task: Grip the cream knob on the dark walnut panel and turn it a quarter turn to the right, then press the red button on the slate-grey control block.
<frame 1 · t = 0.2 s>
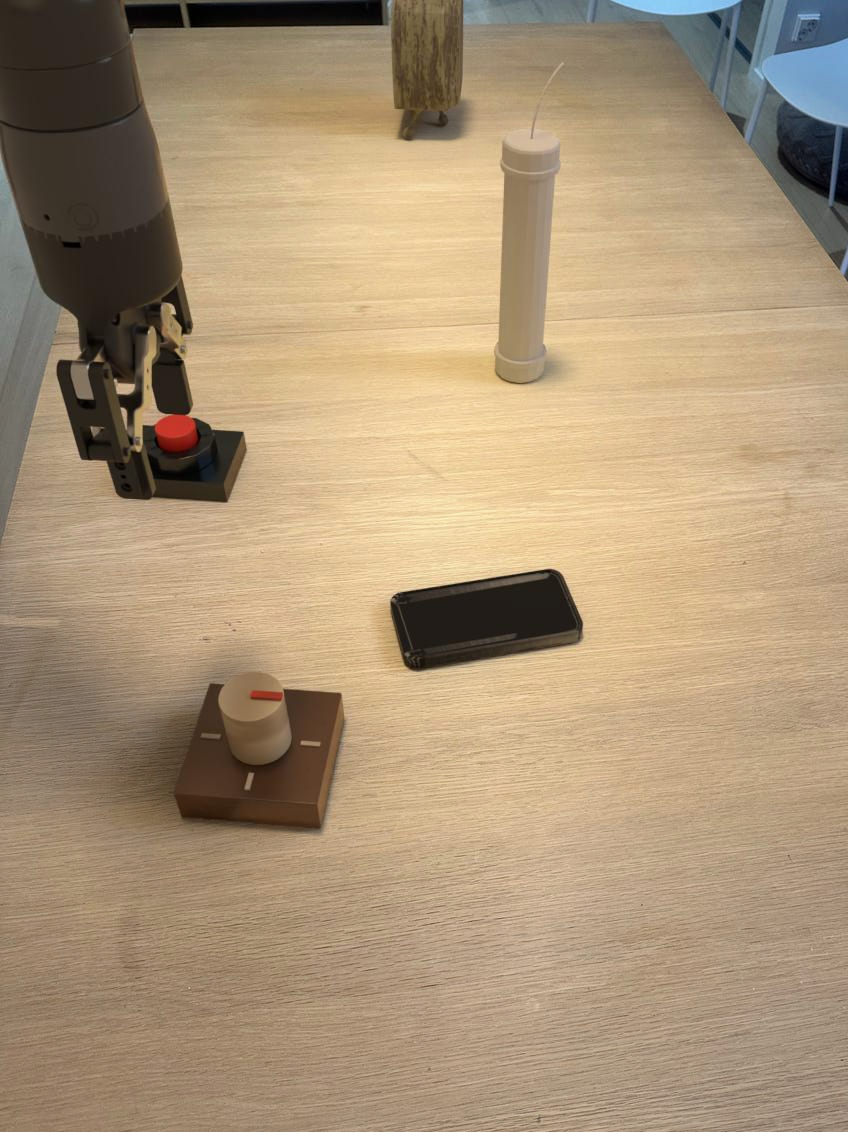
hand: (157, 452, 66), 23 cm above the table, tool pointing down, fingers open, 8 cm apart
dial: (255, 717, 74), point 6 cm above the table, hinge at 0.0°
button: (176, 433, 97), point 4 cm above the table, slide at 0.1 cm
phone: (485, 623, 88), on the table
panel: (266, 765, 78), on the table
dynamite stick: (521, 370, 114), on the table
tabletop clock: (430, 126, 157), on the table
button block: (185, 472, 101), on the table
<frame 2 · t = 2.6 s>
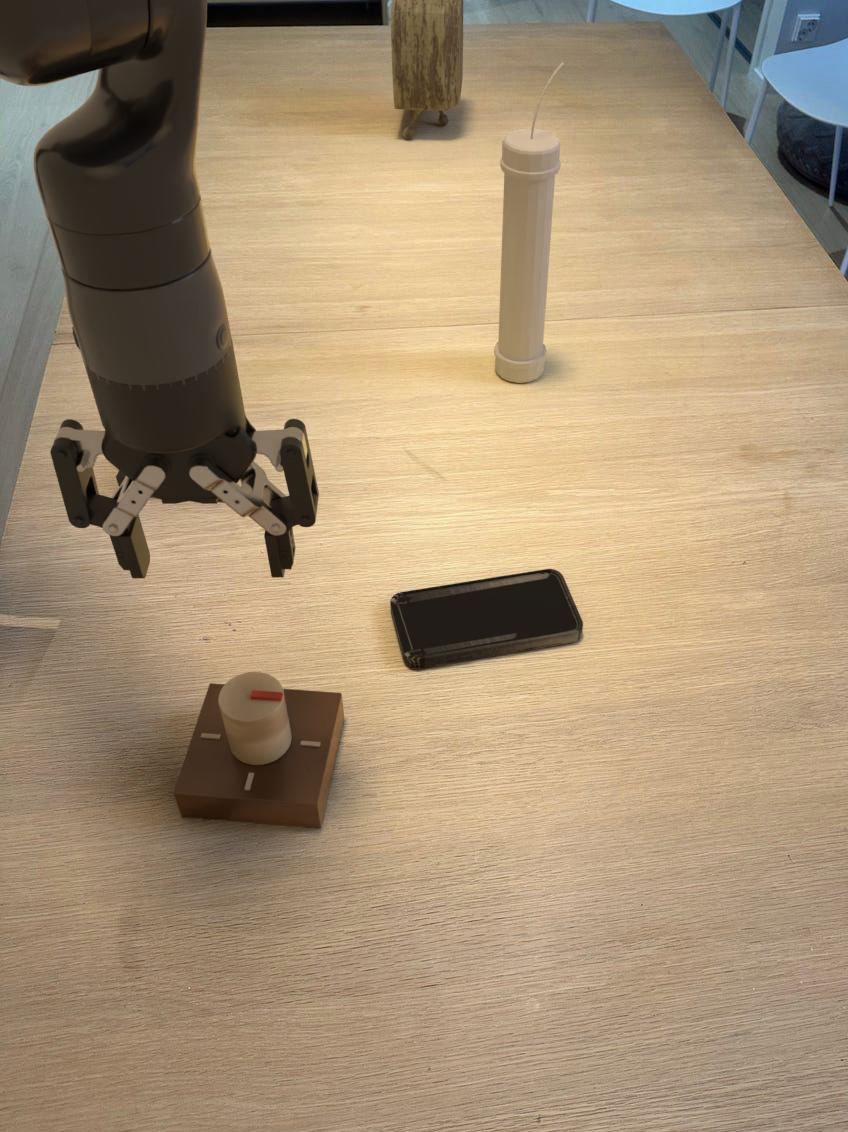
hand: (210, 569, 66), 18 cm above the table, tool pointing down, fingers open, 8 cm apart
nothing on the table moved.
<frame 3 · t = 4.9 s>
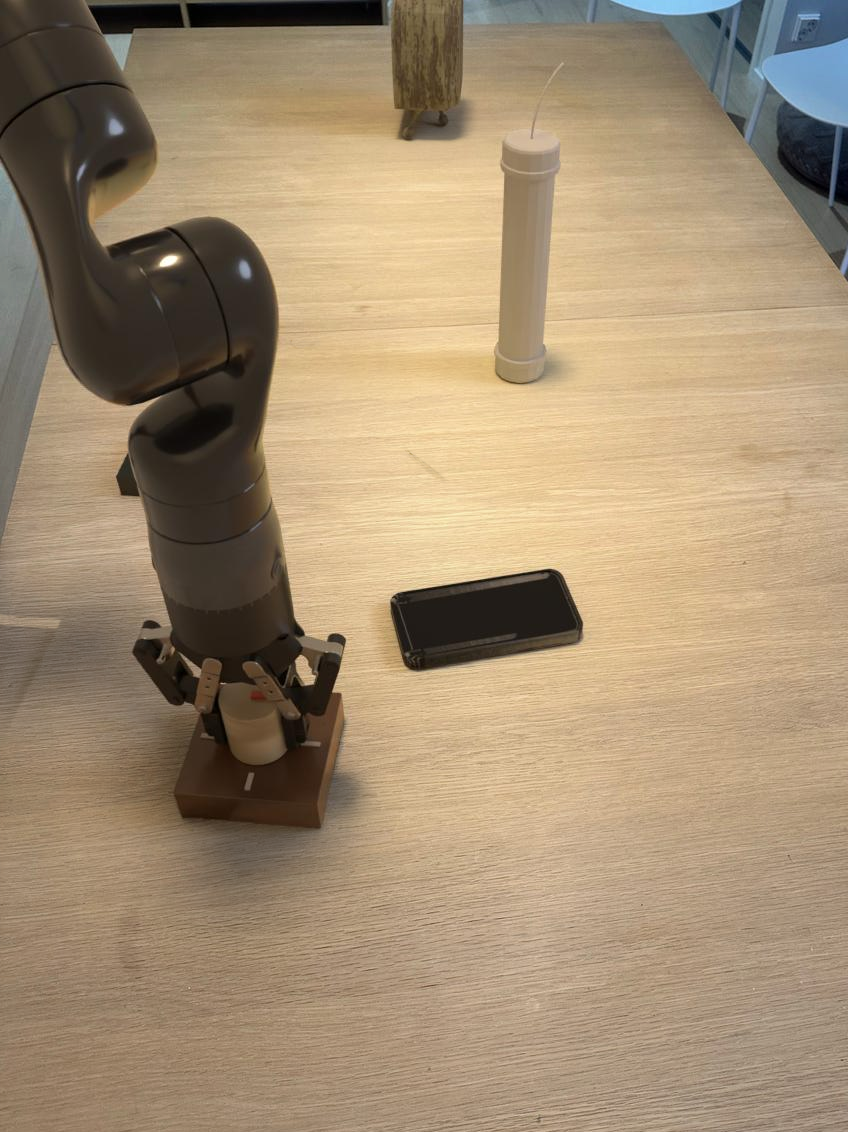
hand: (259, 736, 75), 4 cm above the table, tool pointing down, fingers closed on dial, 4 cm apart
dial: (255, 717, 74), point 6 cm above the table, hinge at 0.0°, touching gripper
everything else where it was.
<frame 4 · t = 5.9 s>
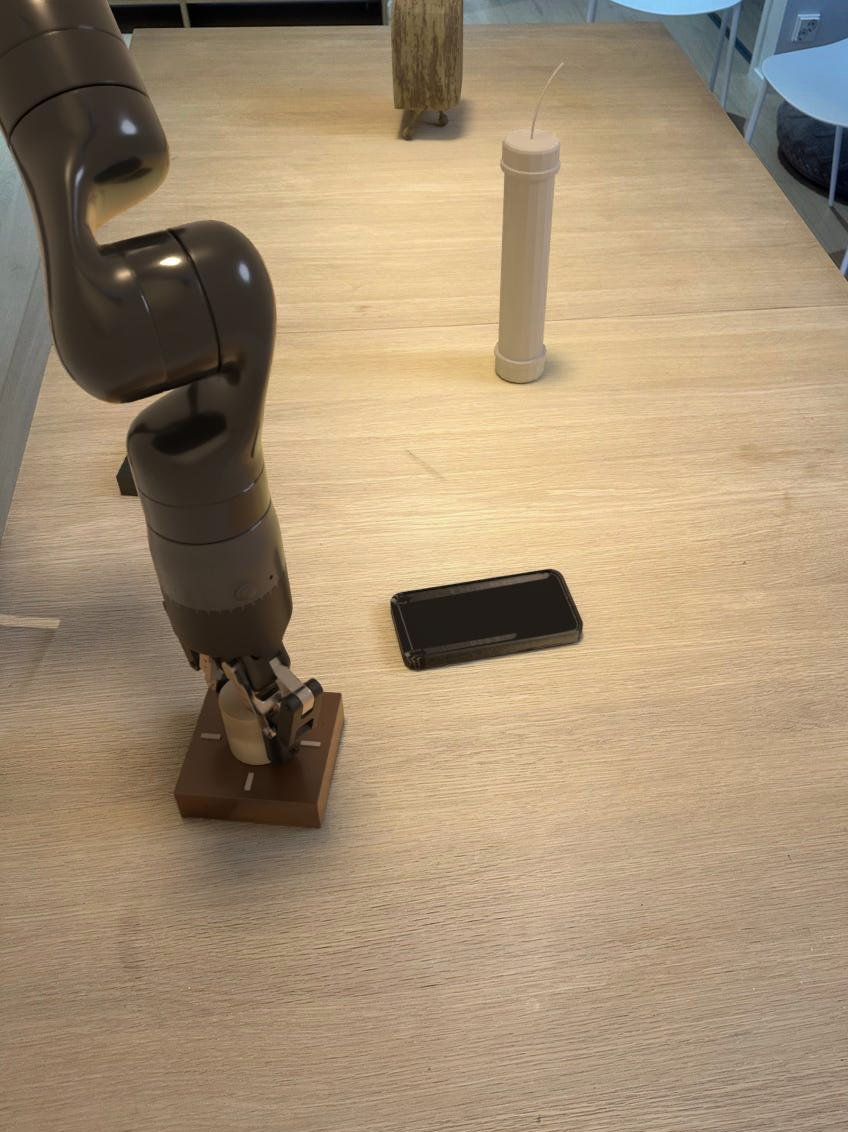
hand: (260, 735, 75), 4 cm above the table, tool pointing down, fingers closed on dial, 4 cm apart
dial: (255, 717, 74), point 6 cm above the table, hinge at -39.5°, touching gripper
everything else where it was.
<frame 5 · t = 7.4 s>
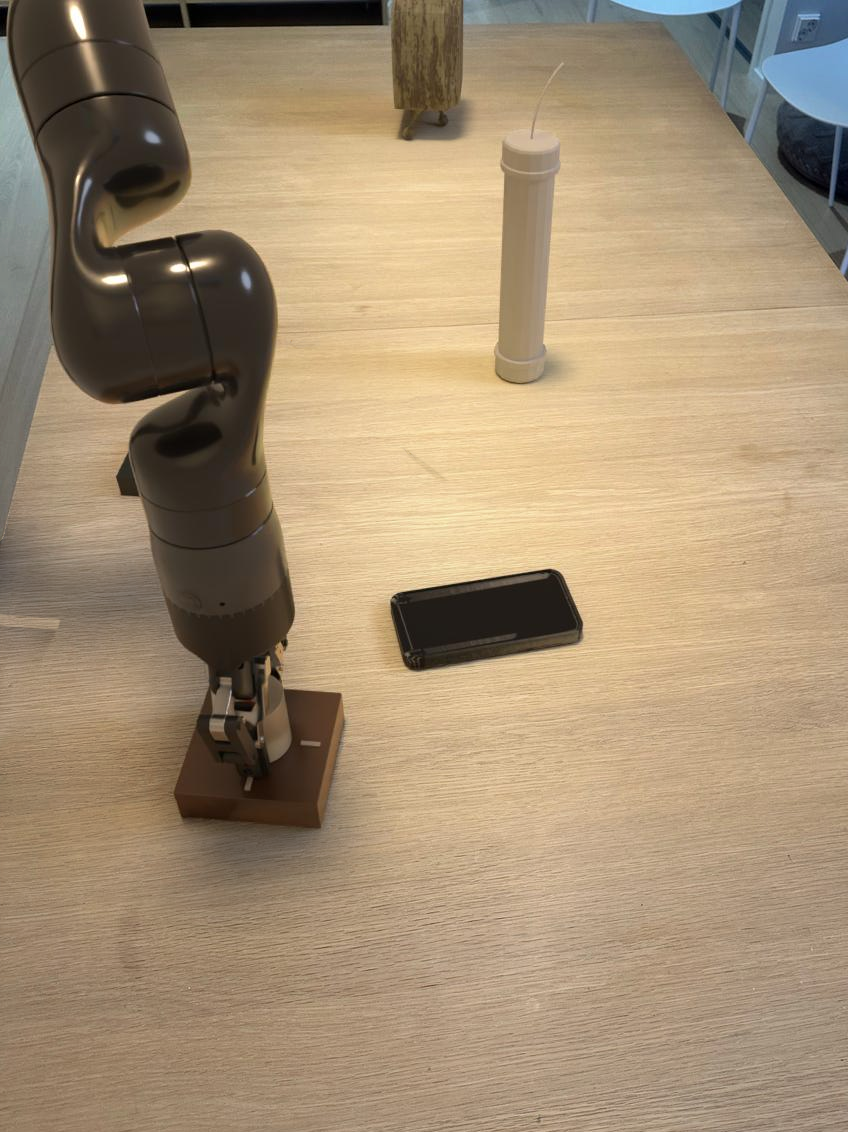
hand: (263, 739, 75), 3 cm above the table, tool pointing down, fingers open, 5 cm apart
dial: (255, 717, 74), point 6 cm above the table, hinge at -93.8°
everything else where it was.
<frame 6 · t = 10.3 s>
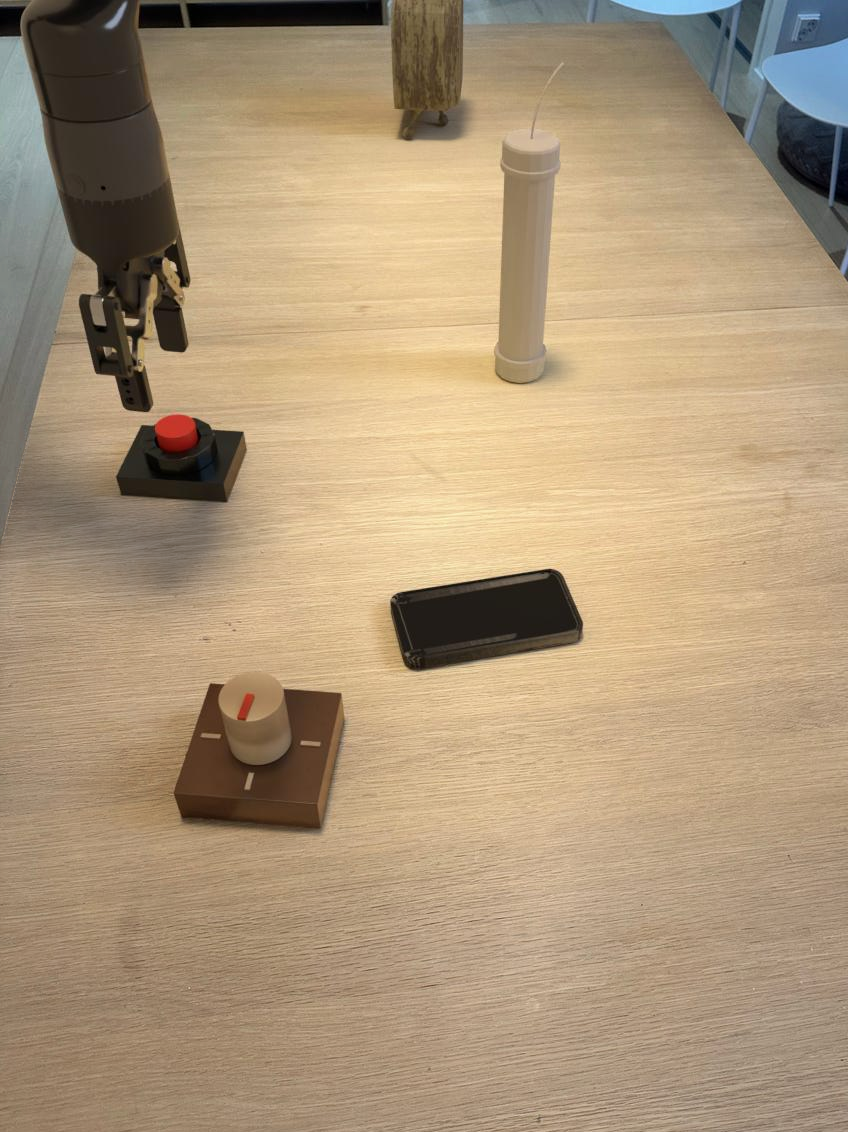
hand: (157, 378, 84), 16 cm above the table, tool pointing down, fingers open, 8 cm apart
nothing on the table moved.
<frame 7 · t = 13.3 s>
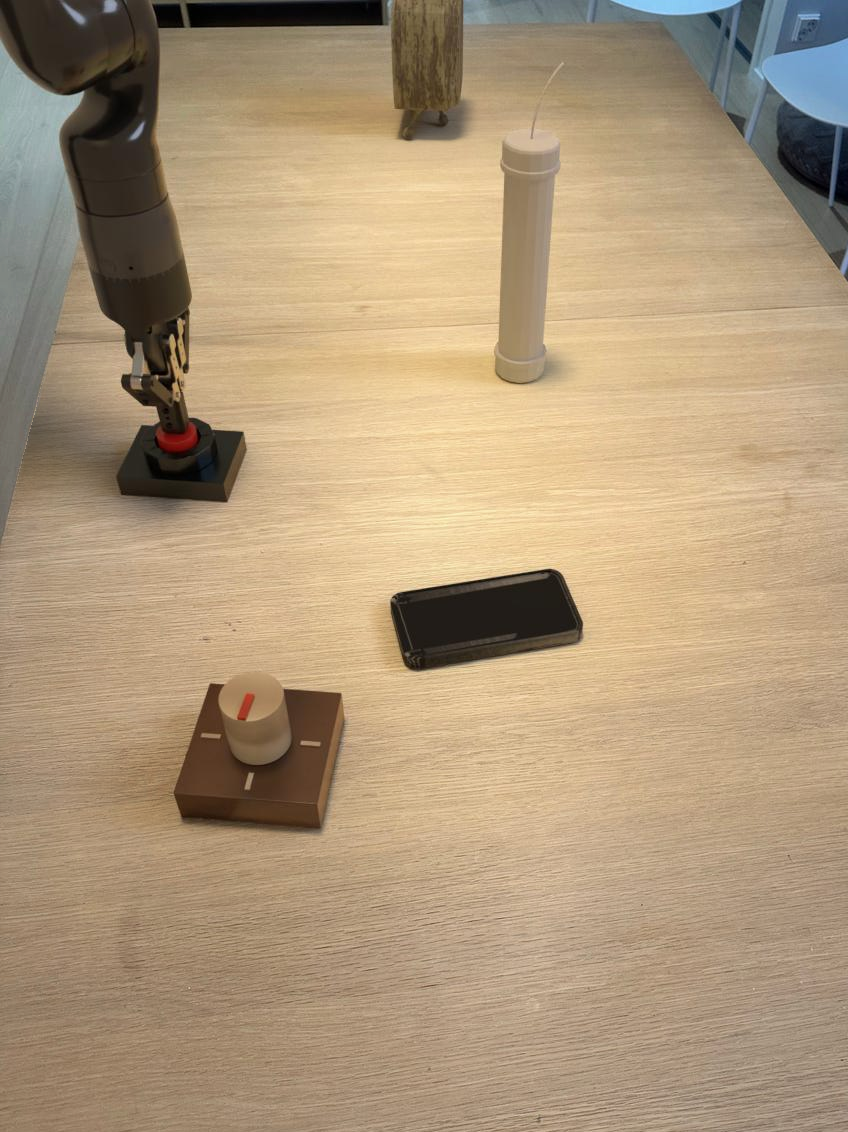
hand: (176, 428, 97), 5 cm above the table, tool pointing down, fingers closed
button: (177, 438, 98), point 4 cm above the table, slide at -0.5 cm, touching gripper
everything else where it was.
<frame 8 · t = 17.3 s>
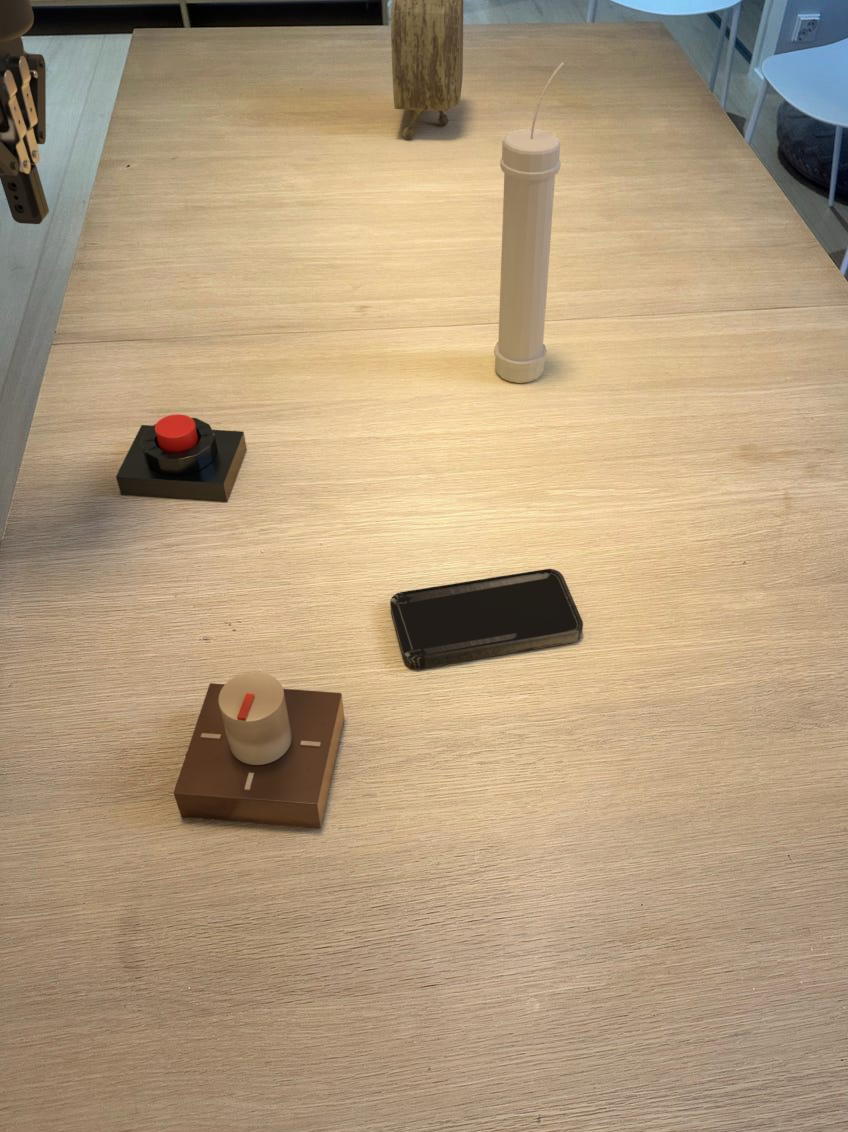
hand: (32, 218, 78), 27 cm above the table, tool pointing down, fingers closed
button: (176, 433, 97), point 4 cm above the table, slide at 0.1 cm
everything else where it was.
at the end: dial at -94° (first picture: +0°); button pushed in 1.2 cm at the most during the clip, back to where it started at the end; button slide at 0.1 cm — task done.
